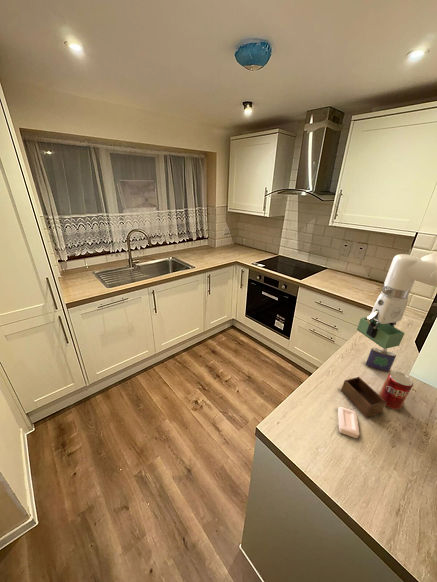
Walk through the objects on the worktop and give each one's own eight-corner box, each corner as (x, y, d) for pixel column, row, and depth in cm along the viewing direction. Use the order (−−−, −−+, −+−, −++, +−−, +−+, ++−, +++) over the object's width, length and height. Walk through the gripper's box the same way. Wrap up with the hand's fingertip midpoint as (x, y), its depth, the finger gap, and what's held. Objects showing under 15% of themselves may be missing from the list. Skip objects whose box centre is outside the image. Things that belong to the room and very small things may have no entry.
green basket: (356, 329, 92) (360, 317, 89) (370, 327, 94) (374, 315, 91) (384, 349, 81) (389, 336, 79) (399, 345, 83) (404, 333, 81)
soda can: (377, 391, 92) (387, 368, 87) (399, 398, 89) (411, 374, 84) (379, 405, 86) (390, 381, 81) (402, 413, 83) (416, 389, 78)
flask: (388, 368, 104) (397, 349, 99) (390, 373, 101) (399, 354, 96) (365, 362, 107) (372, 343, 102) (365, 366, 104) (373, 347, 100)
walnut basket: (340, 390, 92) (344, 380, 89) (355, 386, 94) (359, 376, 91) (366, 417, 82) (371, 406, 79) (381, 412, 83) (386, 402, 81)
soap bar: (339, 433, 76) (341, 428, 75) (337, 410, 84) (339, 405, 83) (357, 439, 74) (359, 434, 73) (354, 415, 82) (356, 410, 81)
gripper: (386, 298, 74) (368, 344, 81) (424, 293, 78) (405, 336, 86) (366, 289, 80) (351, 332, 88) (403, 284, 85) (386, 325, 93)
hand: (378, 333), depth 87 cm, fingers closed on green basket, 7 cm apart
